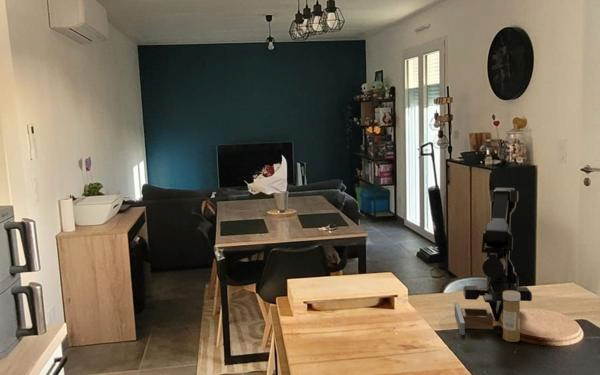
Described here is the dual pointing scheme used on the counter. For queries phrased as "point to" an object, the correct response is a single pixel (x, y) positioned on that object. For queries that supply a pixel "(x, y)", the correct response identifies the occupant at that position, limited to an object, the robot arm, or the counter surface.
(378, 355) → the counter surface
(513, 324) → the sprinkles bottle
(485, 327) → the socket block
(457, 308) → the backstop rail
